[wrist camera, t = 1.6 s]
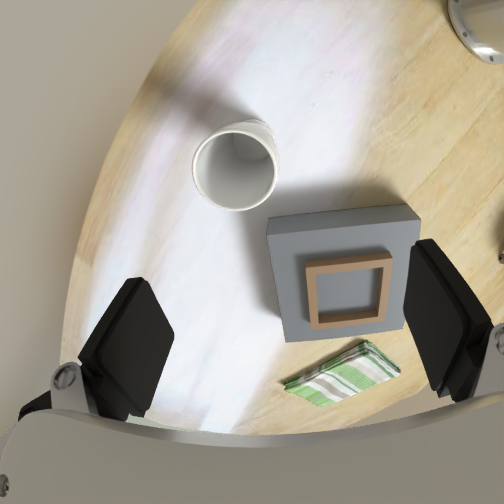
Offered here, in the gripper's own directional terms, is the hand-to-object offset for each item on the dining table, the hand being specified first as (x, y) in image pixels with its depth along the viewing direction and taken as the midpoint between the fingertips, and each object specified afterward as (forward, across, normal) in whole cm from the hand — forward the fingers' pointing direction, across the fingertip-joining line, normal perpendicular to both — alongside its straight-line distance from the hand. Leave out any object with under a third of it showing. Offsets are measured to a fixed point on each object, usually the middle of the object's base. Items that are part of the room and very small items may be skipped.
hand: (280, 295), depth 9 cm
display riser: (+28, -7, +20) cm, 35 cm away
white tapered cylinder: (+28, +3, -2) cm, 28 cm away
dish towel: (+29, -7, +51) cm, 59 cm away
